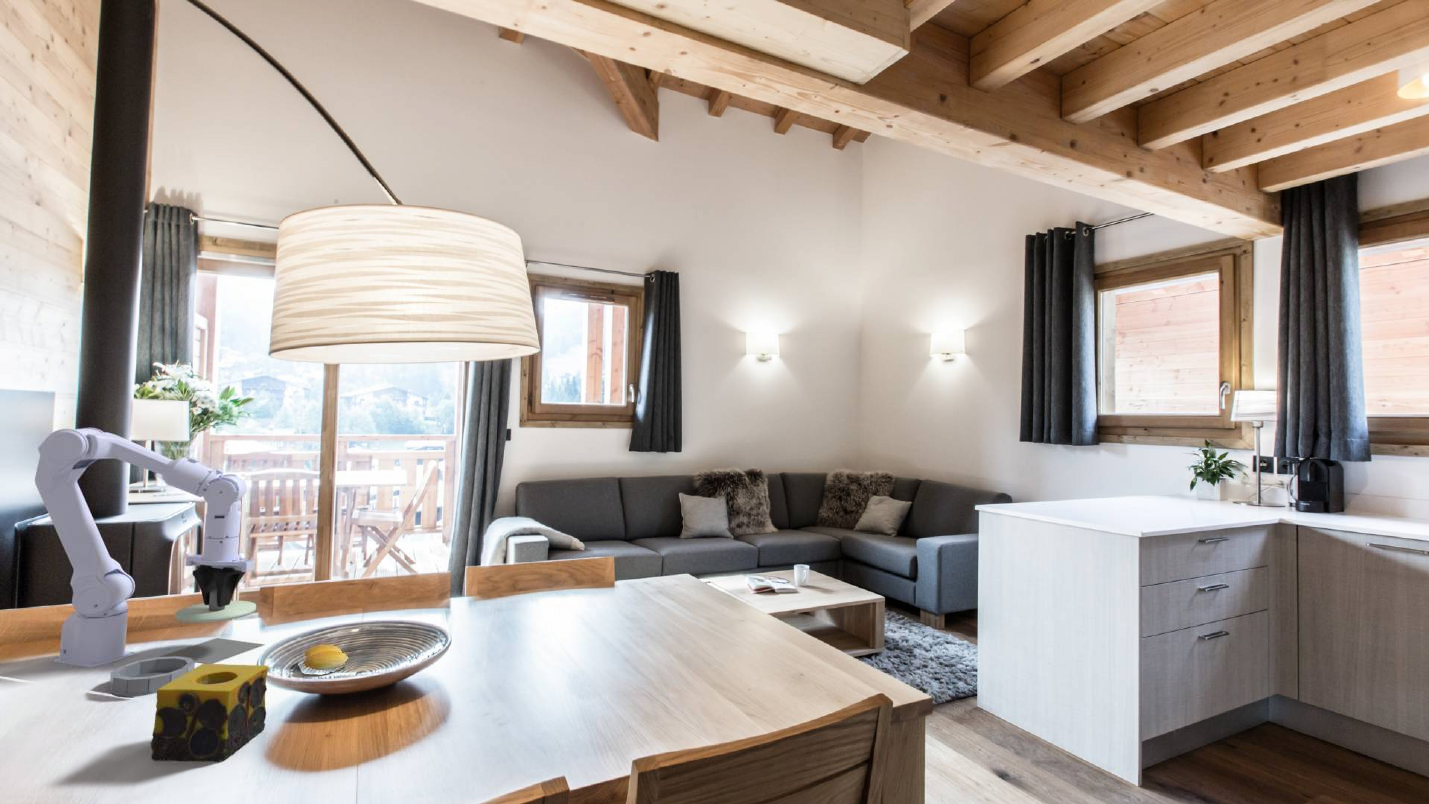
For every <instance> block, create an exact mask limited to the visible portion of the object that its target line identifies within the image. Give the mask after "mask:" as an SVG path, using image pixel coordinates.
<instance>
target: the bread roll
mask: <svg viewBox="0 0 1429 804" xmlns="http://www.w3.org/2000/svg"><path fill="white" fill-rule="evenodd" d="M341 650H342V649H340V647H338V646H335V645H332V644H319V645H315V646H313V647H310V648H308V649H307V650H306V651H304V653H305V656H306V658H307V659H306V660H305V661H304V663H303V664H305V666H306V667H310V668H312V669H316V670H327V669H333V668H336V667H340V666H342V665H343V664H345V662H346V661H347V659H348V660H349V657H348V656H347V654H346V653H345V652H344V653H342V651H343V650H342V651H341Z"/></svg>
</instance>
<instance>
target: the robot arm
mask: <svg viewBox="0 0 1429 804" xmlns="http://www.w3.org/2000/svg"><path fill="white" fill-rule="evenodd" d="M37 449H38V453H39V460H38V462H37V463H38V464H37V466H36V467H37V468H36V473H35V476H34V484H35V486H36V488H37V490H38V493H39V495H40V498H41V500H42V501H43V504H44V507H45V508H46V511H47V513H48V515H49V518H50V520H51V521H52V525H53V527H54V528H55V531H56V533H57V535H58V538H59V540H60V542H61V544H62V547H63V549H64V551H65V554H66V555H67V558H68V560H69V562H70V564H71V567H72V569H73V573H72V576H71V579H70V586H71V589H72V593H73V594H72V598H71V599H72V600H71V603H72V607H73V608H74V610H75V612H73V613H72V614H70V615H69V616H68V617H67V618H66V619H65V621H64V622H63V625H62V627H61V632H60V634H61V635H60V648H59V657H58V658H55V659H54V660H53V662H54V663H58V664H59V663H60V664H65V665H72V666H78V667H84V668H92V669H93V668H98V667H101V666H104V665H107V664H110V663H113V662H114V663H115V662H116V661H120V660H123V659H126V658H129V657H133V656H136V655H137V654H138V652H137V651H131V650H126V642H127V631H128V630H127V628H128V617H129V616H128V615H129V604H128V603H127V601H128V599H130V598H131V597H132V596H133V595H134V592H135V590H136V589H135V588H136V584H135V580H134V579H133V577H132V576H131V575H130V574H128V573H127V572H125V570H123V568H122V566H121V564H120V563H119V562H118V561H117V560H116V559H114V558H112V557H111V556H110V553H109V551H108V549H107V547H106V545H105V542H104V540H103V538H102V536H101V534H100V531H99V529H98V526H97V525H96V522H95V519H94V517H93V516H92V513H91V510H90V508H89V506H88V503H87V502H86V499H85V497H84V495H83V492H82V490H81V488H80V486H79V483H78V480H79V479H80V478H81V476H82V475H83V474H84V472H85V471H86V470H87V468H88V467H89V466H90V465H92V464H93V463H95V462H97V461H98V460H103V459H104V460H105V459H107V460H108V459H109V460H110V459H115V460H119V461H121V462H124V463H128V464H131V465H133V466H136V467H139V468H142V469H144V470H148V471H151V472H153V473H156V474H159V475H161V476H162V478H163V480H164V483H165V484H166V485H168V486H170V487H173V488H175V489H179V490H181V491H183V492H186V493H189V494H192V495H194V496H196V497H198V498H202V497H203V499H204V501H205V503H207V506H206V507H207V508H206V513H205V514H206V515H205V525H204V536H203V551H202V554H190V555H187V556H185V566H187V567H192V566H195V567H198V569H194V570H192V574H191V575H192V576H193V577H194V579H195V580H196V582H197V584H198V586H199V590H200V593H201V596H202V601H203V603H204V605H209V599H210V591H213V590H217V606H218V607H223V606H226V605H229V604H230V601H232V598H233V597H234V596H233V595H234V593H235V590H236V588H237V586H238V584H239V583H240V581H241V579H242V578H243V577H244V576H245V574H246V573H249V572H253V571H255V567H256V565H255V564H256V561H255V560H254V559H253V560H252V559H248V558H244V557H242V555H240V554H239V549H240V534H241V533H240V532H241V531H240V530H241V521H242V519H241V518H242V511H241V509H242V500H241V499H242V498H243V497H244V496H245V494H246V492H247V491H246V490H247V485H246V483H245V482H244V480H243V479H242V478H241V477H239V476H237V475H236V474H232V473H228V474H224V473H225V471H224V470H222V469H219V468H218V469H217V470H215V469H213V468H211V467H209V466H206V465H203V464H201V463H199V461H200V459H198V458H195V457H190V458H187V457H181V458H177V459H171V458H169V457H167V456H165V455H162V454H160V453H159V452H156V451H154V450H151V449H149V448H146V447H144V446H142V445H140V444H139V443H138V444H137V443H135V442H134V441H132V440H129V439H127V438H124V437H122V436H120V435H117V434H114V433H111V432H107V431H106V432H104V431H103V430H101V429H99V428H96V427H83V428H60V429H57V430H54V431H53V432H51V433H50V434H49V435H48V436H47V437H46V438H45V439H44V440H43V441H42V443H41V444H40V445H39V446H38V447H37Z"/></svg>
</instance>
